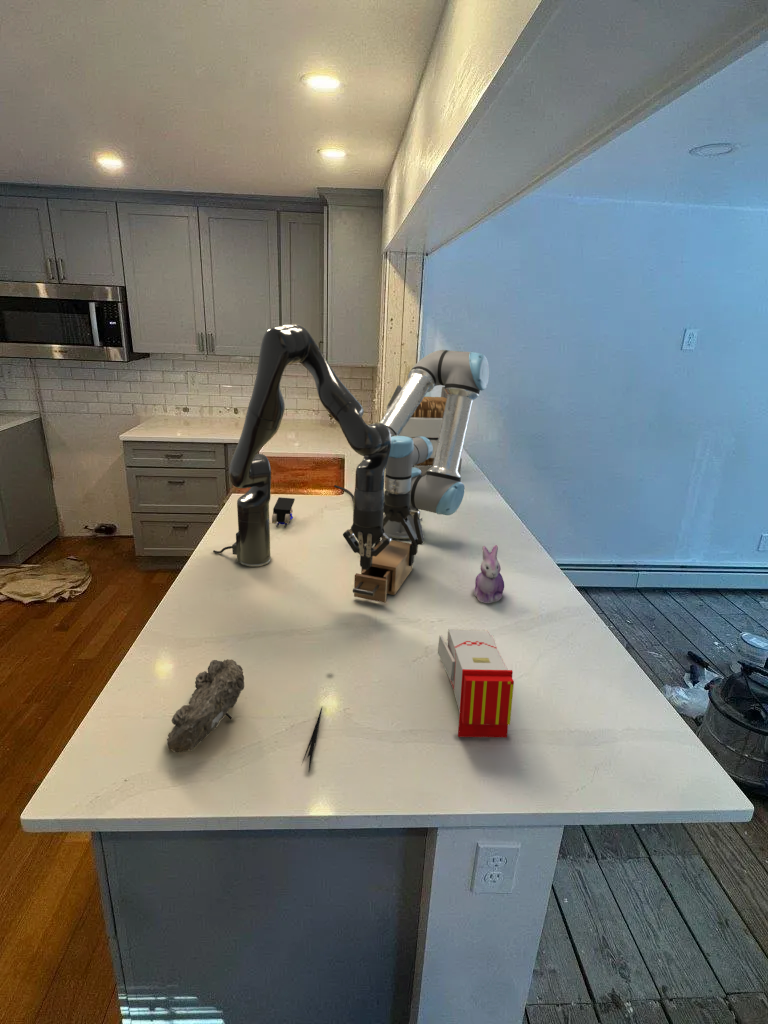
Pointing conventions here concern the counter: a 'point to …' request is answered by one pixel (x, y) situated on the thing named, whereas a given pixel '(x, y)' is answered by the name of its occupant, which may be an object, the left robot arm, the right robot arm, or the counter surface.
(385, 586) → the drawer
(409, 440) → the right robot arm
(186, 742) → the fossil
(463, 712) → the toy
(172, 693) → the counter surface
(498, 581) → the figurine
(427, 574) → the counter surface
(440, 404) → the grey tiered rack
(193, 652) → the counter surface
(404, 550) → the cabinet
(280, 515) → the figurine character
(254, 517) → the left robot arm
